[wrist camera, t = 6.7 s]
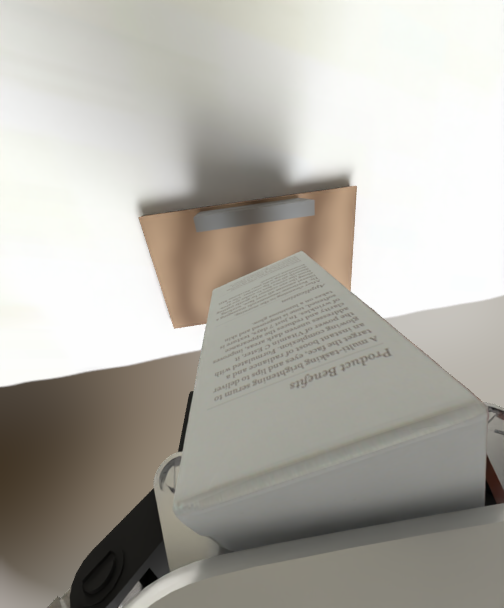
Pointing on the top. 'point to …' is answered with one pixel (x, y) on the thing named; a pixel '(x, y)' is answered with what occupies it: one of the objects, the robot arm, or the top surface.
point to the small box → (319, 417)
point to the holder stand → (246, 244)
